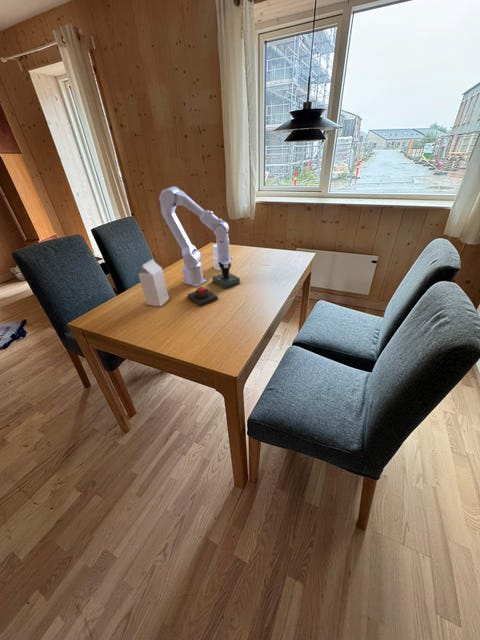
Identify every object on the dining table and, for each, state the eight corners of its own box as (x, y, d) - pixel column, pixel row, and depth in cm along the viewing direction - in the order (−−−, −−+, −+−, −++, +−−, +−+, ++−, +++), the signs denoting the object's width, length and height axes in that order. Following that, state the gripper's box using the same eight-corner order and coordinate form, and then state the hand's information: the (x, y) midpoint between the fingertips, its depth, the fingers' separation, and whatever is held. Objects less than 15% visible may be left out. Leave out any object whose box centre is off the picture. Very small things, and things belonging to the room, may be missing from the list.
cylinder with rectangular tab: (232, 265, 150) (231, 245, 144) (223, 271, 144) (221, 250, 138) (220, 263, 155) (218, 242, 148) (210, 268, 148) (208, 247, 142)
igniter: (188, 297, 121) (186, 290, 119) (204, 291, 125) (204, 284, 123) (200, 306, 113) (199, 299, 112) (217, 299, 118) (216, 292, 116)
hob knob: (221, 278, 130) (220, 271, 127) (220, 277, 131) (220, 269, 129) (230, 277, 130) (230, 269, 128) (230, 275, 131) (229, 268, 129)
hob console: (212, 281, 134) (212, 276, 132) (227, 276, 138) (226, 271, 136) (225, 289, 126) (224, 283, 124) (239, 283, 131) (239, 277, 129)
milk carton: (169, 299, 120) (160, 259, 110) (160, 306, 115) (150, 265, 104) (156, 297, 123) (145, 258, 112) (146, 304, 117) (135, 264, 107)
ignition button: (196, 292, 118) (195, 288, 117) (203, 289, 120) (202, 286, 119) (200, 295, 116) (199, 291, 115) (207, 292, 117) (206, 288, 116)
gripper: (234, 253, 117) (235, 281, 125) (229, 243, 129) (231, 269, 137) (218, 255, 116) (221, 283, 124) (215, 245, 128) (218, 271, 136)
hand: (225, 276), depth 130 cm, fingers closed on hob knob, 2 cm apart
